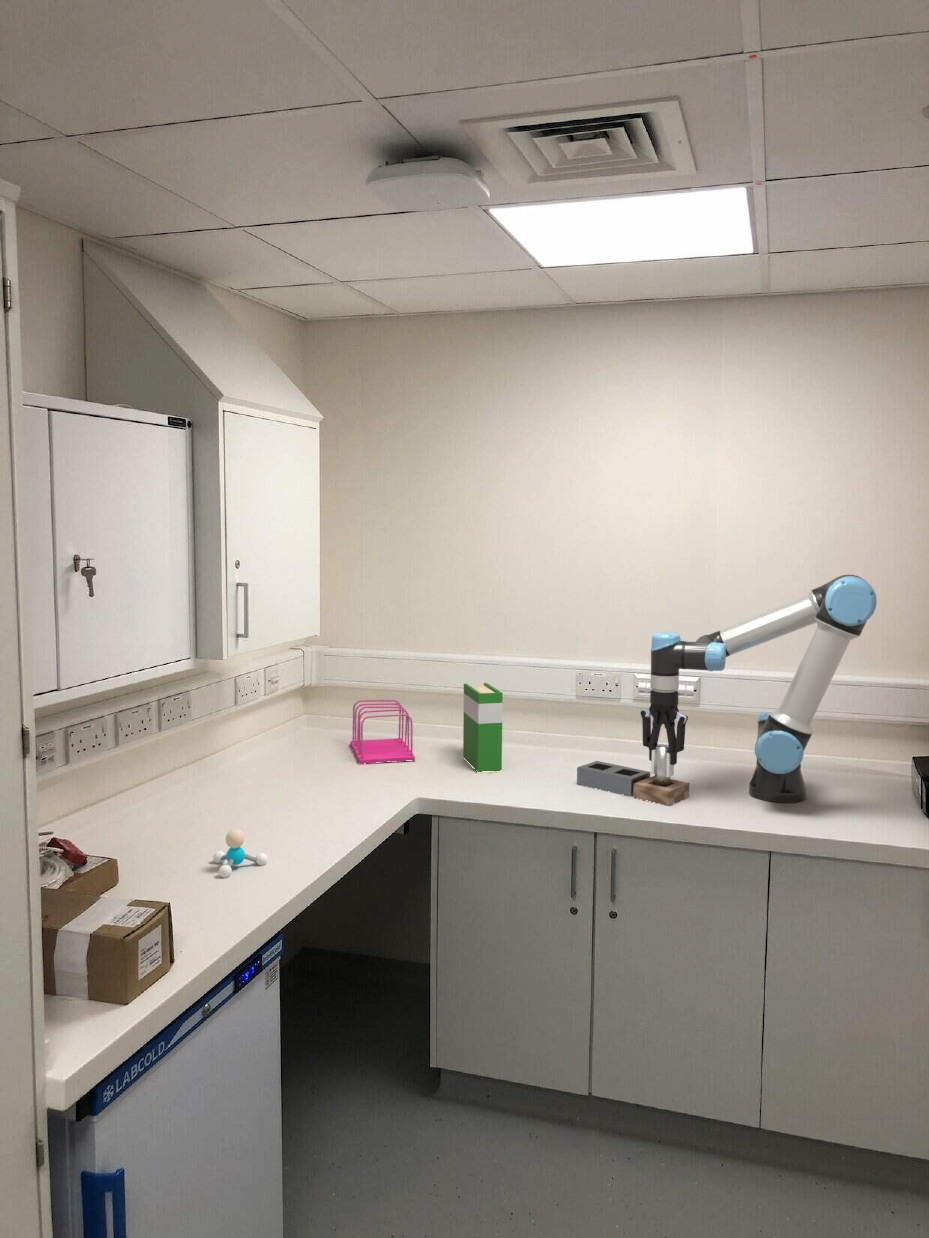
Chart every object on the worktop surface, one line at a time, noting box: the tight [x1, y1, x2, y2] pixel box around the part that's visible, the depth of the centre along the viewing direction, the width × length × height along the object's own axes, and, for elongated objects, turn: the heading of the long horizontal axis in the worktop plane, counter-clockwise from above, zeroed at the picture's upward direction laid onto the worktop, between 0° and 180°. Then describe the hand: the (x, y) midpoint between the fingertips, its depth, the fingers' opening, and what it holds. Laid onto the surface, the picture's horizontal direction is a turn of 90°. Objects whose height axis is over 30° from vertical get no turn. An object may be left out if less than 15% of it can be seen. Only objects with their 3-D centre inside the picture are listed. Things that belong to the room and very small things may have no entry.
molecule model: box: [213, 829, 269, 879], centre depth 212 cm, size 12×12×9 cm
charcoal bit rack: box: [576, 760, 651, 798], centre depth 276 cm, size 18×10×5 cm, turn 49°
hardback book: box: [462, 682, 504, 772], centre depth 298 cm, size 18×7×24 cm, turn 14°
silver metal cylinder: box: [654, 743, 671, 787], centre depth 265 cm, size 4×4×14 cm
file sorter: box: [349, 699, 416, 765], centre depth 312 cm, size 17×25×16 cm
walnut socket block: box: [632, 775, 691, 807], centre depth 266 cm, size 11×11×4 cm
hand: (662, 774), depth 265 cm, fingers closed on silver metal cylinder, 4 cm apart
